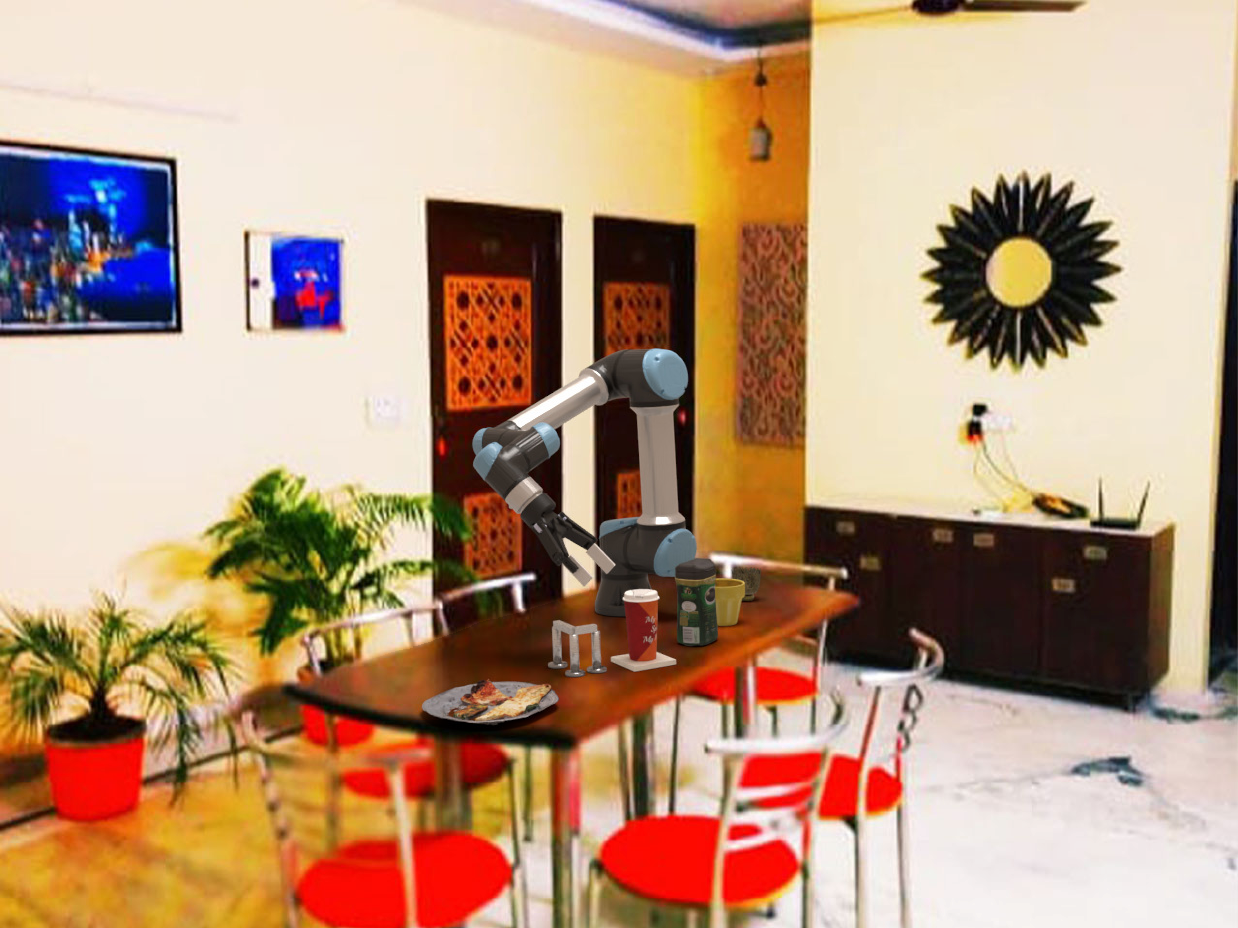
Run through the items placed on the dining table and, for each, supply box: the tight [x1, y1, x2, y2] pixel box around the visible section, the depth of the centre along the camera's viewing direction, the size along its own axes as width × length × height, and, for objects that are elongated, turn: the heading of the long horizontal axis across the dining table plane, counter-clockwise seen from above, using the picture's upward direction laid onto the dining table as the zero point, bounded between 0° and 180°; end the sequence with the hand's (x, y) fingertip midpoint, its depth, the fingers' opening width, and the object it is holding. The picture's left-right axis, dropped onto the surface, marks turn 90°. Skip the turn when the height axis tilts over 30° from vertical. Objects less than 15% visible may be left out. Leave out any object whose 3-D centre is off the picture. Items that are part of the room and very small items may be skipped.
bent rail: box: [547, 619, 607, 678], centre depth 268 cm, size 12×9×10 cm
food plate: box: [421, 678, 560, 726], centre depth 241 cm, size 25×23×4 cm
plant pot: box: [715, 578, 745, 627], centre depth 306 cm, size 10×10×10 cm
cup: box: [731, 566, 762, 602], centre depth 331 cm, size 8×7×8 cm
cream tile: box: [610, 651, 677, 672], centre depth 272 cm, size 10×10×1 cm
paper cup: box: [623, 589, 660, 661], centre depth 271 cm, size 8×8×14 cm
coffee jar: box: [674, 557, 719, 647], centre depth 288 cm, size 10×8×19 cm
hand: (600, 575), depth 273 cm, fingers open, 13 cm apart
